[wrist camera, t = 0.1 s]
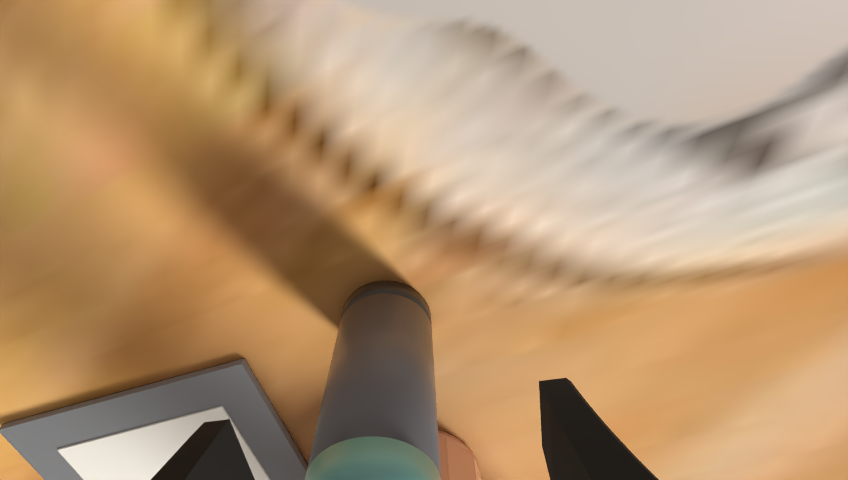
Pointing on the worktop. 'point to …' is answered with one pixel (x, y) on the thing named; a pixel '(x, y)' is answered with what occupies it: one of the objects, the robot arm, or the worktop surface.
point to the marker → (379, 391)
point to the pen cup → (456, 459)
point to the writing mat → (157, 429)
